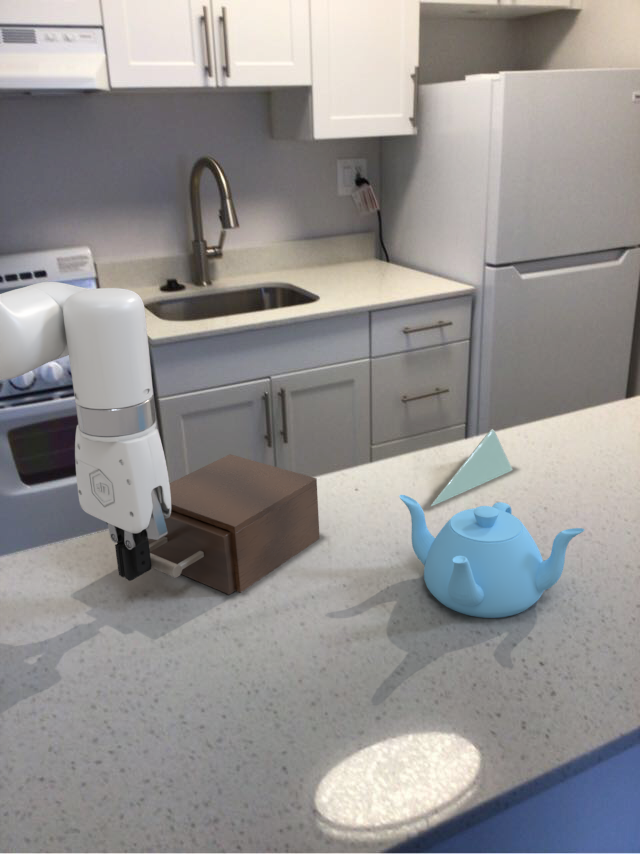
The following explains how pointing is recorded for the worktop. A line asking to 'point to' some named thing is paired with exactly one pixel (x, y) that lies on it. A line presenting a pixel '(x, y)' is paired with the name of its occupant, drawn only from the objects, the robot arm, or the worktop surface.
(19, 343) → the robot arm
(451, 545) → the teapot
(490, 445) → the pale green wedge
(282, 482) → the cabinet
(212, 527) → the drawer
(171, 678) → the worktop surface
